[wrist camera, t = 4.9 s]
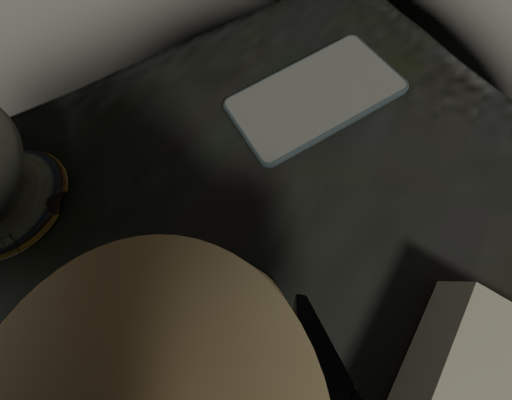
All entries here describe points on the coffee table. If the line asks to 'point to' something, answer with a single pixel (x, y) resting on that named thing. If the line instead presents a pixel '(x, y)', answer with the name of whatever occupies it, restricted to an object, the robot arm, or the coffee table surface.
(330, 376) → the robot arm
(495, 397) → the cream plinth
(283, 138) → the smartphone
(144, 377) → the birch pillar
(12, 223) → the apothecary jar
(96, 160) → the coffee table surface
